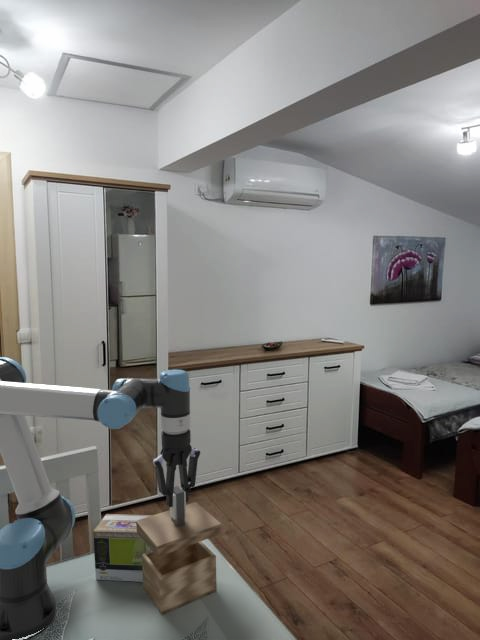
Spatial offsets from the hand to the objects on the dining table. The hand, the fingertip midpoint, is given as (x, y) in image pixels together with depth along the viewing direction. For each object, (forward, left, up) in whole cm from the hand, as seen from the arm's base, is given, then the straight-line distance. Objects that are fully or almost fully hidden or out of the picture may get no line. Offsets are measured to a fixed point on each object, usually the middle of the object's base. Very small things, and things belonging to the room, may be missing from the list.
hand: (177, 515), depth 125 cm
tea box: (-9, +16, -21) cm, 28 cm away
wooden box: (0, 0, -21) cm, 21 cm away
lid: (0, 0, -5) cm, 5 cm away
